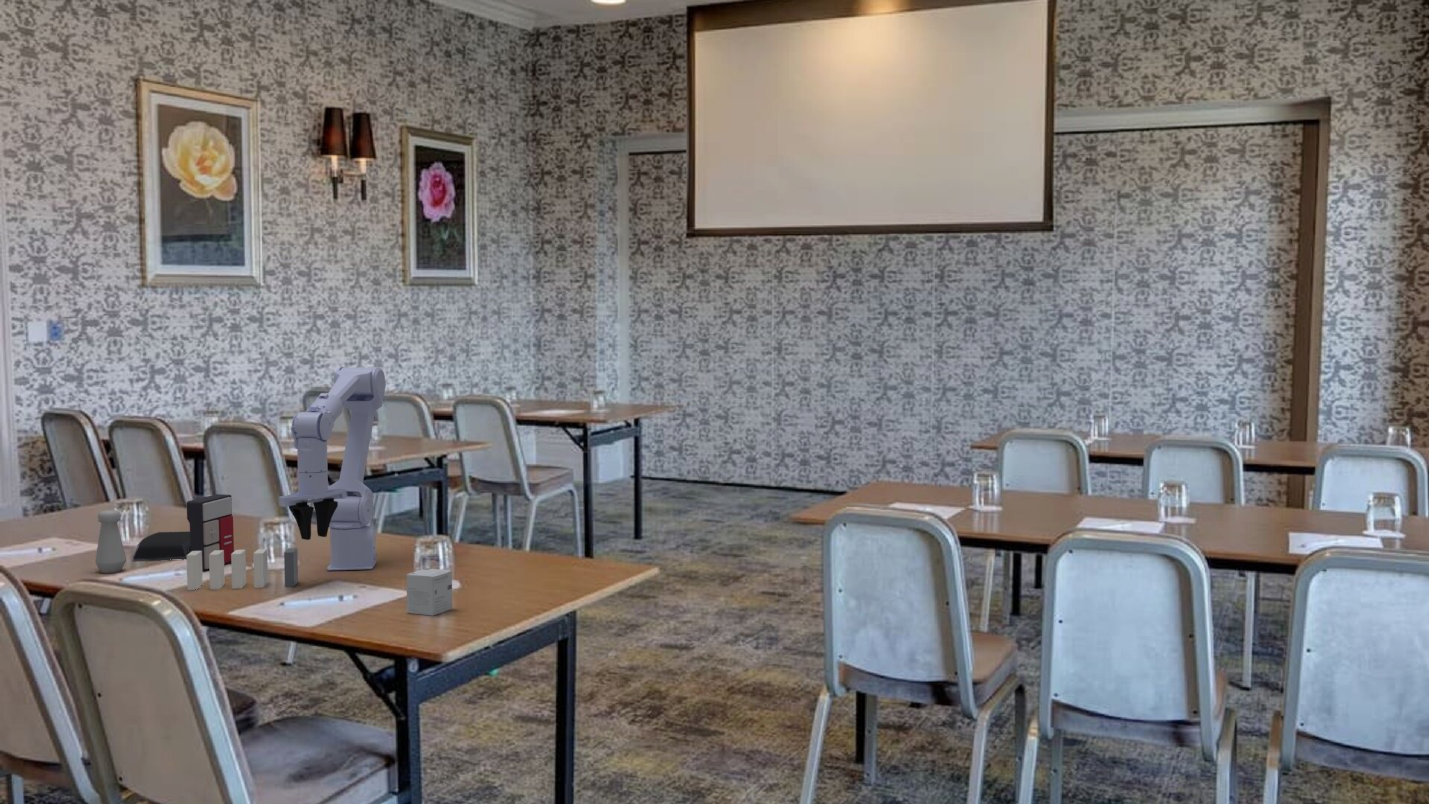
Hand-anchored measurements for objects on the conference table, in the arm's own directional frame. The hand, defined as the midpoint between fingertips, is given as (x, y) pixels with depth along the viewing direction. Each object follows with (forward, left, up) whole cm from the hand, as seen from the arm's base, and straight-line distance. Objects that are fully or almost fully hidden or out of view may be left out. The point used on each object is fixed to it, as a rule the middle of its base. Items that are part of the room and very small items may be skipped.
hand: (314, 537), depth 245 cm
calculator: (+25, -20, -10) cm, 33 cm away
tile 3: (+15, 0, -9) cm, 17 cm away
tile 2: (+11, 0, -9) cm, 14 cm away
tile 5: (+23, 0, -9) cm, 25 cm away
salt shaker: (+45, -18, -10) cm, 49 cm away
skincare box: (-24, +26, -10) cm, 37 cm away
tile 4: (+19, 0, -9) cm, 21 cm away
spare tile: (+5, 0, -9) cm, 10 cm away
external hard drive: (+38, -38, -10) cm, 55 cm away
